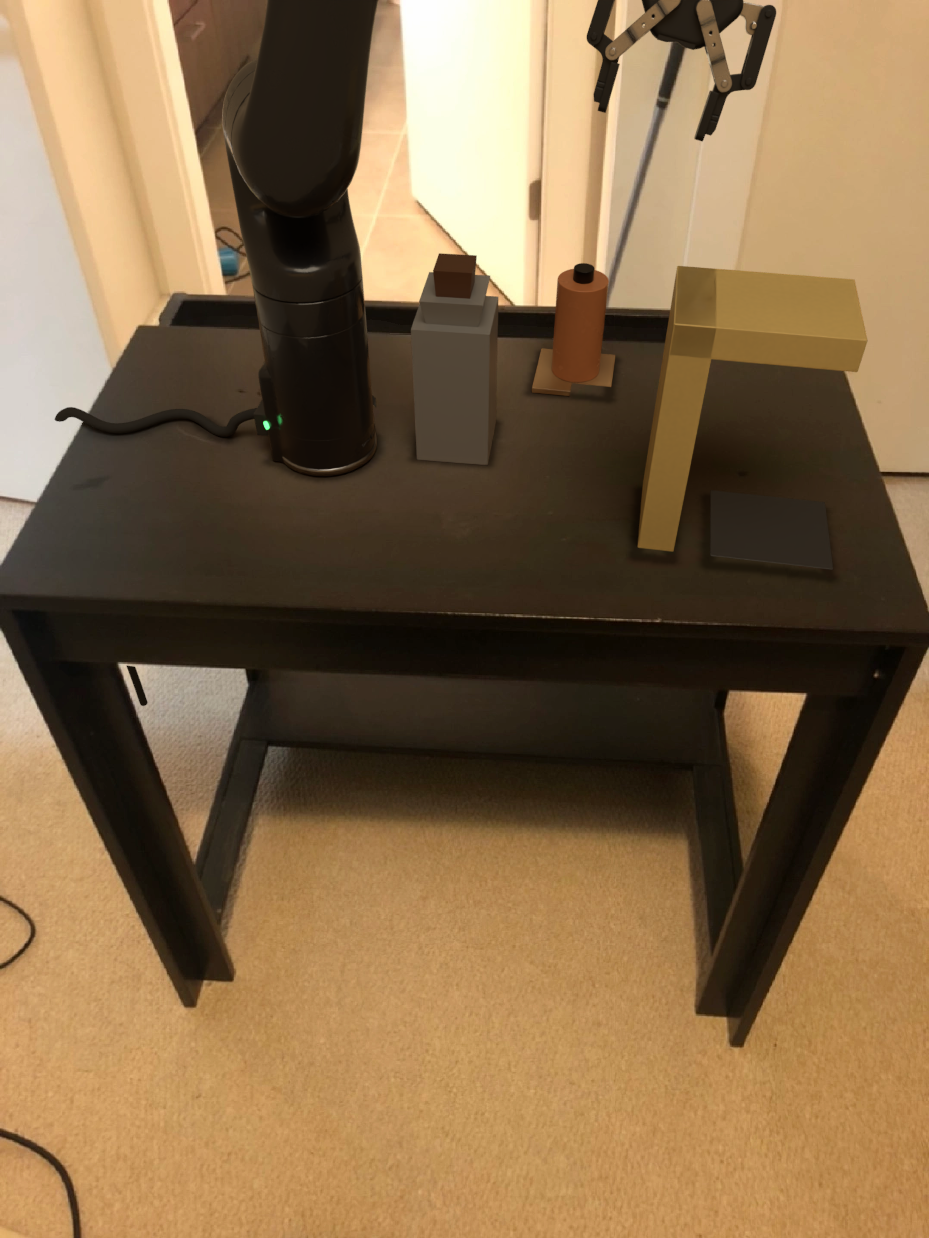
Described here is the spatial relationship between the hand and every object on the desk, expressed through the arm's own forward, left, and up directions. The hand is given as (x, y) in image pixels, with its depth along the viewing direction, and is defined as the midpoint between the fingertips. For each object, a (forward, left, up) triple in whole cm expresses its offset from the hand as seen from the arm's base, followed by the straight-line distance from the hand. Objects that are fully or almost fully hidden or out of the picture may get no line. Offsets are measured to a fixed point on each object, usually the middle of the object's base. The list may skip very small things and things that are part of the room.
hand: (650, 126), depth 83 cm
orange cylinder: (-5, +2, -25) cm, 26 cm away
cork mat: (-5, +2, -26) cm, 26 cm away
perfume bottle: (-15, -12, -26) cm, 32 cm away
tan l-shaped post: (+11, -21, -26) cm, 35 cm away
